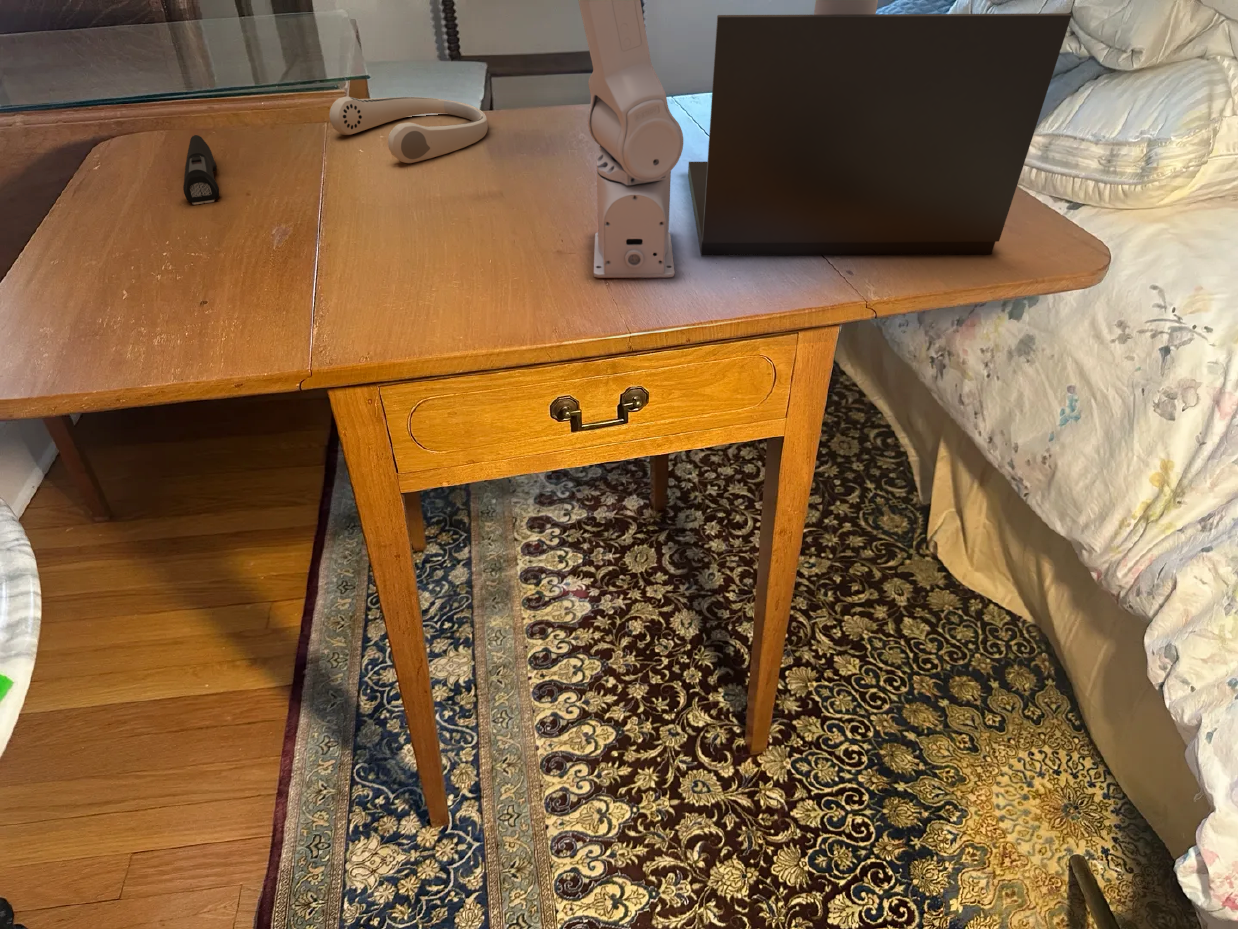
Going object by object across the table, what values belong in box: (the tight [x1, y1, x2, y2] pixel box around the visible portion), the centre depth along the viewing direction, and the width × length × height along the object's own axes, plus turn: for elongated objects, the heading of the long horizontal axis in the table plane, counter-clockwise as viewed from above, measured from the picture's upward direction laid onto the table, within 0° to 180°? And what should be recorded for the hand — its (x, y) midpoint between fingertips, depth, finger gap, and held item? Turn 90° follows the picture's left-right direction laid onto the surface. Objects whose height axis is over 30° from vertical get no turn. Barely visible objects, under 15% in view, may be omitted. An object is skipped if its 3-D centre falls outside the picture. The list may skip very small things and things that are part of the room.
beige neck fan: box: [329, 95, 489, 164], centre depth 114 cm, size 18×17×5 cm
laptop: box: [687, 161, 996, 257], centre depth 96 cm, size 21×30×2 cm
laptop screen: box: [702, 12, 1072, 243], centre depth 80 cm, size 21×30×1 cm
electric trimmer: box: [182, 134, 220, 205], centre depth 104 cm, size 4×16×3 cm, turn 21°
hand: (821, 164), depth 91 cm, fingers closed
